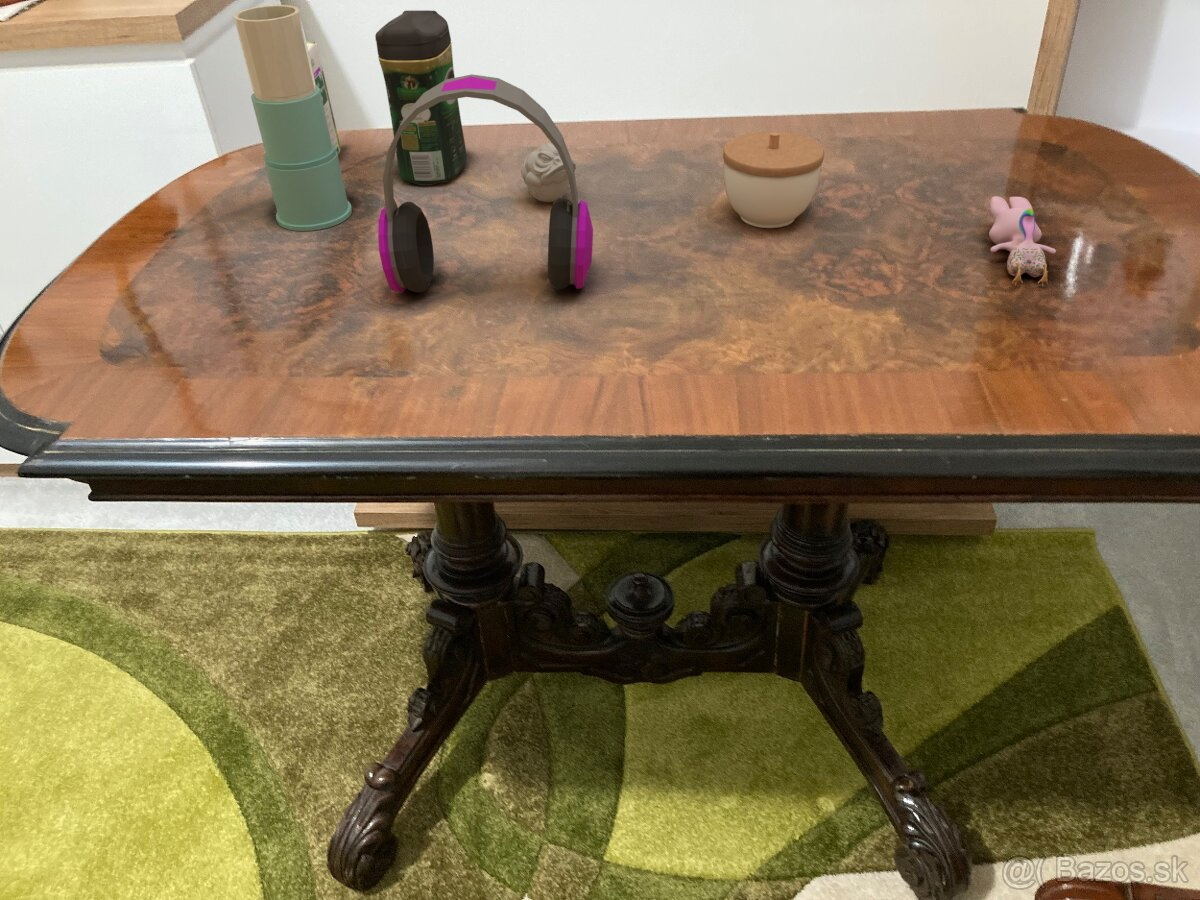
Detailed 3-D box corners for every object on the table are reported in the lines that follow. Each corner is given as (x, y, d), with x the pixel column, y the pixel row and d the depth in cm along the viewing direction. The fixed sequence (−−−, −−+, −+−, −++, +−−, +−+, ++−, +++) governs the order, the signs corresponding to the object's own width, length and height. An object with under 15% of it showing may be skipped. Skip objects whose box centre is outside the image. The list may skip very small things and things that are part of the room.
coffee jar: (415, 157, 121) (390, 4, 109) (473, 158, 120) (455, 4, 108) (391, 186, 113) (362, 26, 102) (453, 188, 112) (431, 26, 101)
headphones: (381, 310, 90) (339, 101, 77) (397, 267, 96) (361, 70, 84) (594, 305, 89) (586, 94, 77) (595, 263, 96) (588, 63, 83)
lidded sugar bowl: (702, 208, 106) (706, 126, 100) (783, 190, 109) (790, 110, 103) (750, 245, 98) (757, 159, 92) (835, 225, 101) (846, 141, 95)
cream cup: (278, 106, 95) (258, 24, 90) (242, 95, 98) (221, 15, 93) (328, 90, 99) (311, 10, 94) (292, 80, 102) (274, 2, 97)
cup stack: (307, 238, 103) (275, 111, 94) (262, 218, 107) (228, 96, 98) (367, 211, 108) (342, 89, 99) (321, 194, 112) (294, 75, 103)
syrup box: (333, 171, 118) (307, 53, 109) (287, 173, 118) (257, 54, 109) (342, 155, 122) (318, 39, 113) (298, 156, 122) (270, 41, 113)
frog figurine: (548, 217, 105) (544, 158, 101) (511, 199, 109) (506, 141, 105) (588, 202, 108) (586, 143, 104) (552, 185, 112) (548, 128, 108)
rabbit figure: (1058, 298, 90) (1029, 211, 100) (1078, 248, 86) (1046, 162, 95) (992, 296, 91) (969, 210, 101) (1008, 246, 86) (984, 161, 96)
